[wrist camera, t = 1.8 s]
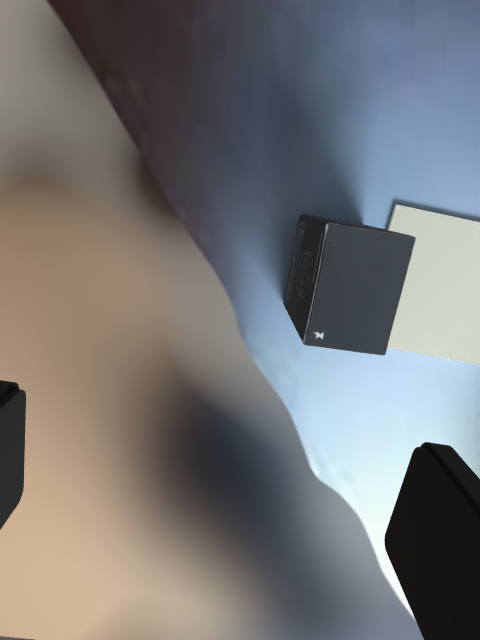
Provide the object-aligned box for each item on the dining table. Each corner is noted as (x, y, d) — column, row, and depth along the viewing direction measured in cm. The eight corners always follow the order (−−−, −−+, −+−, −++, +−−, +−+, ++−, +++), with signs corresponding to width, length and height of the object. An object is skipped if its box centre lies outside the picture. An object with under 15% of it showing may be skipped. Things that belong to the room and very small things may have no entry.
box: (344, 313, 37) (386, 359, 27) (281, 303, 36) (299, 346, 26) (366, 223, 34) (420, 236, 24) (299, 212, 34) (326, 220, 24)
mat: (394, 204, 34) (396, 204, 34) (531, 233, 35) (534, 234, 34) (354, 339, 37) (355, 341, 37) (479, 363, 38) (482, 365, 38)
